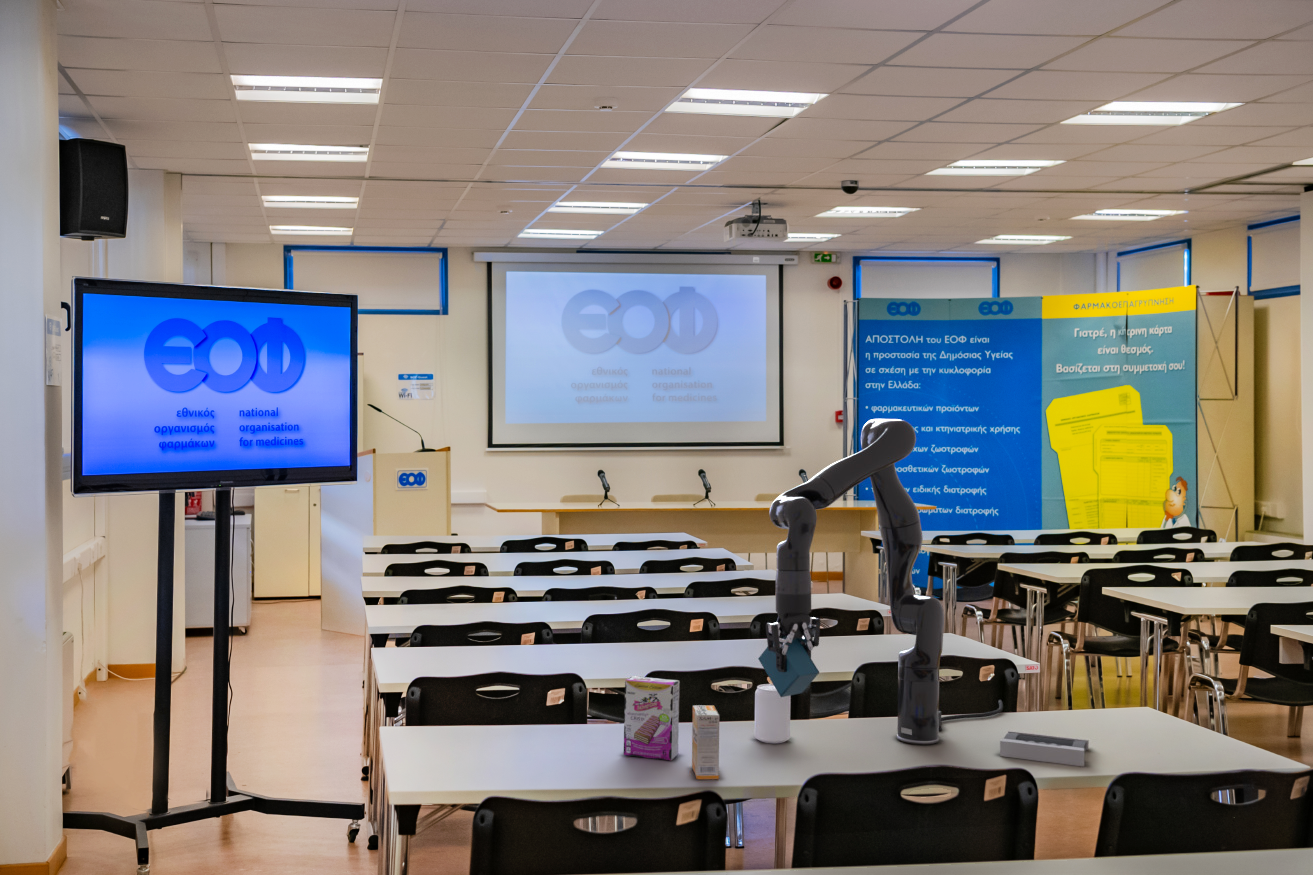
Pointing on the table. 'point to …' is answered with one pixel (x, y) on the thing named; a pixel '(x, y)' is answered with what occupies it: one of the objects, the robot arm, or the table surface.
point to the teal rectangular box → (790, 669)
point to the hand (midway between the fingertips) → (793, 669)
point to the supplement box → (705, 742)
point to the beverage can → (771, 715)
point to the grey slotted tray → (1044, 748)
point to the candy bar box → (651, 717)
